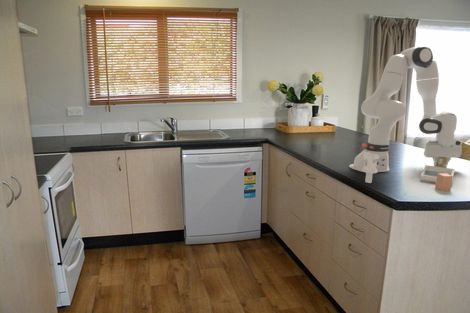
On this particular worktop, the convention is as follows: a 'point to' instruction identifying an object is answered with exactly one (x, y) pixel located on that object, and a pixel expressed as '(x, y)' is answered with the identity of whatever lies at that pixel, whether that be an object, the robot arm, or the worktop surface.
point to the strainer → (370, 165)
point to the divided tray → (434, 173)
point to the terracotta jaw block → (443, 181)
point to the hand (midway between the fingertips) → (440, 164)
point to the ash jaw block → (442, 162)
